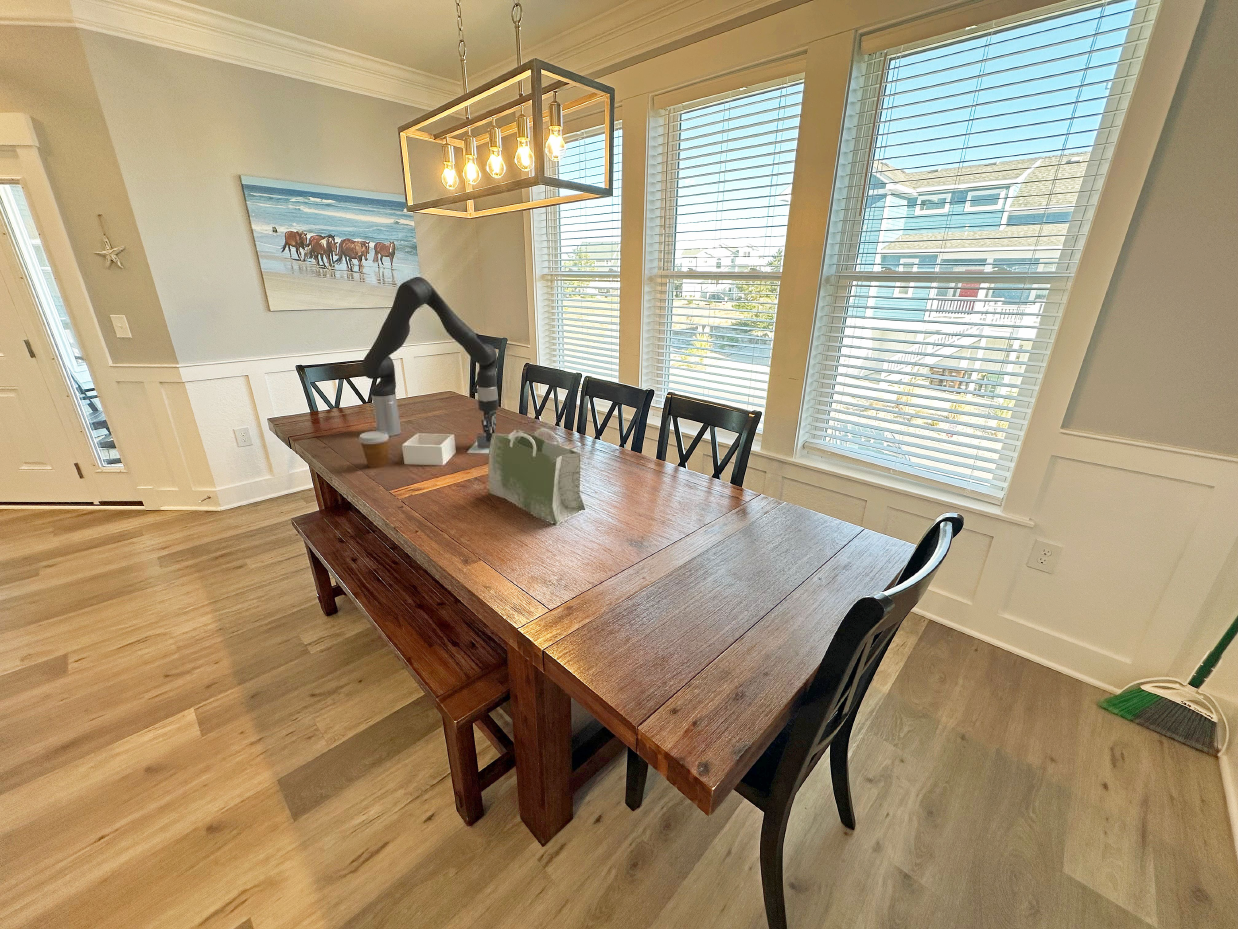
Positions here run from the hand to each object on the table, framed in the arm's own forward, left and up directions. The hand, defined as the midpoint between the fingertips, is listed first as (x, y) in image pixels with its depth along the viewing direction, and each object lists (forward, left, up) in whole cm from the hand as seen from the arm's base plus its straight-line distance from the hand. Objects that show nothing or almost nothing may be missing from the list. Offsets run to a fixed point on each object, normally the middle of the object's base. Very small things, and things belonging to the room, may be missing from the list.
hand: (490, 439), depth 194 cm
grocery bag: (+47, +26, -4) cm, 54 cm away
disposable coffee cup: (+22, -35, -4) cm, 42 cm away
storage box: (+14, -19, -4) cm, 24 cm away
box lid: (0, 0, -5) cm, 5 cm away
